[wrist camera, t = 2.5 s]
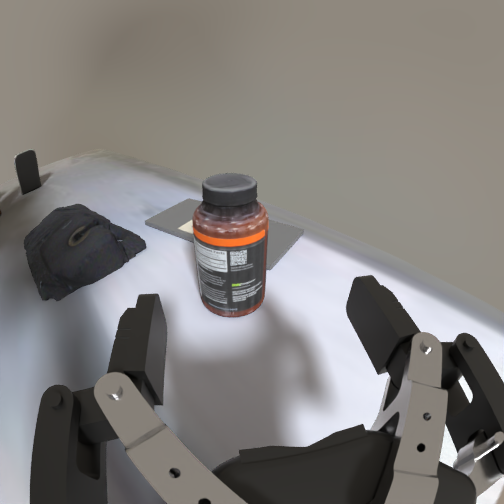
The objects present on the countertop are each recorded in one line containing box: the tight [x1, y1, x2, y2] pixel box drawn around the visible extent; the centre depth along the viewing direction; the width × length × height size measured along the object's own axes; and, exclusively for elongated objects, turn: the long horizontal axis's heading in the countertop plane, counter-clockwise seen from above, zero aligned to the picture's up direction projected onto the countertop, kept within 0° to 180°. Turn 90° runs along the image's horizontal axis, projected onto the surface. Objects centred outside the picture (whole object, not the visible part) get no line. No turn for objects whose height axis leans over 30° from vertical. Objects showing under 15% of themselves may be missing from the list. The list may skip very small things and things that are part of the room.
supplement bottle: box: [192, 173, 269, 317], centre depth 23 cm, size 6×6×11 cm
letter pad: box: [145, 199, 304, 270], centre depth 37 cm, size 20×10×1 cm, turn 60°
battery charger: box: [14, 149, 41, 194], centre depth 53 cm, size 7×4×11 cm, turn 145°
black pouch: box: [24, 204, 146, 301], centre depth 32 cm, size 15×22×5 cm
